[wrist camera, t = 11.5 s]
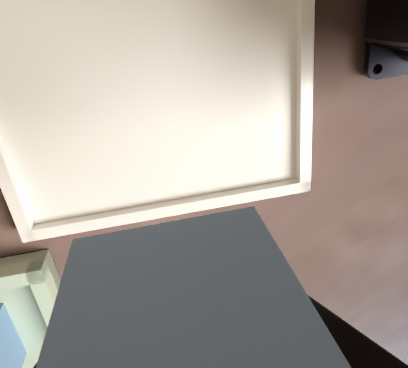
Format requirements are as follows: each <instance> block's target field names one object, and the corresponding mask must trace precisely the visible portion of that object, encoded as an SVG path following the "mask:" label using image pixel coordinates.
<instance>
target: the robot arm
mask: <svg viewBox="0 0 408 368" xmlns="http://www.w3.org/2000/svg"><path fill="white" fill-rule="evenodd" d="M365 39H366V50H365V62H364V74H365V75H366V76H367V77H368V78H371V79H382V78H389V77H395V76H402V75H408V0H367V13H366V25H365ZM376 64H377V65H378V68H377V71H376V72H374V73H373V68H374V66H375V65H376ZM308 297H309V299H310V300H311V302H312V304H313V305H314V307H315V308H316V310H317V312H318V313H319V315H320V317H321V318H322V320H323V322H324V323H325V325H326V327H327V328H328V330H329V332H330V333H331V335H332V337H333V338H334V340H335V342H336V343H337V345H338V347H339V348H340V350H341V352H342V353H343V355H344V356H345V358H346V360H347V361H348V363H349V365H350V366H351V368H408V365H406V364H405V363H404V362H402V361H401V360H399V359H398V358H396V357H395V356H394V355H392V354H391V353H389V352H388V351H387V350H385V349H384V348H382V347H381V346H379V345H378V344H377V343H375V342H374V341H372V340H371V339H369V338H368V337H367V336H365V335H364V334H362V333H361V332H359V331H358V330H357V329H355V328H354V327H352V326H351V325H350V324H348V323H347V322H345V321H344V320H342V319H341V318H340V317H338V316H337V315H335V314H334V313H332V312H331V311H330V310H328V309H327V308H325V307H324V306H323V305H321V304H320V303H318V302H317V301H315V300H314V299H313V298H311V297H310V296H308ZM36 365H37V363H36V364H35V366H34V367H33V368H36Z"/></svg>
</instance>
